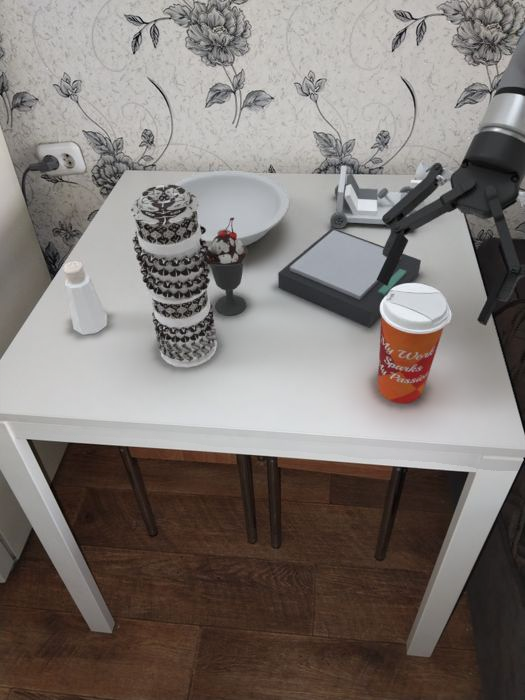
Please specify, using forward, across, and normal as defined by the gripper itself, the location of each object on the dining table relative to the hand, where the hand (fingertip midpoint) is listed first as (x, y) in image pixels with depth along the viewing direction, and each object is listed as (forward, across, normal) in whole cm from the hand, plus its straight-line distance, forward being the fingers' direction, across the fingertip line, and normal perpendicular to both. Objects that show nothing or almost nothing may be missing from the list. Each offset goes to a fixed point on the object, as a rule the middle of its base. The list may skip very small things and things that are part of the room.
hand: (429, 302), depth 74 cm
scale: (0, +18, -16) cm, 24 cm away
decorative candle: (+20, +29, +3) cm, 35 cm away
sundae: (+12, +30, -5) cm, 33 cm away
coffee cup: (+12, 0, -5) cm, 13 cm away
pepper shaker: (+23, +45, +6) cm, 51 cm away
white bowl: (+1, +44, -16) cm, 47 cm away
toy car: (-14, +24, -31) cm, 42 cm away
